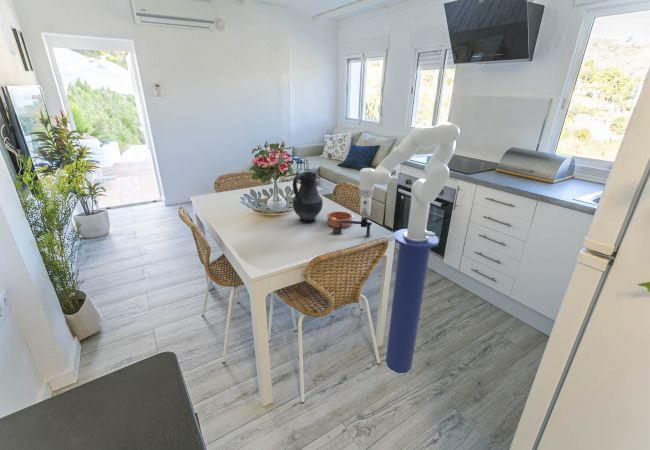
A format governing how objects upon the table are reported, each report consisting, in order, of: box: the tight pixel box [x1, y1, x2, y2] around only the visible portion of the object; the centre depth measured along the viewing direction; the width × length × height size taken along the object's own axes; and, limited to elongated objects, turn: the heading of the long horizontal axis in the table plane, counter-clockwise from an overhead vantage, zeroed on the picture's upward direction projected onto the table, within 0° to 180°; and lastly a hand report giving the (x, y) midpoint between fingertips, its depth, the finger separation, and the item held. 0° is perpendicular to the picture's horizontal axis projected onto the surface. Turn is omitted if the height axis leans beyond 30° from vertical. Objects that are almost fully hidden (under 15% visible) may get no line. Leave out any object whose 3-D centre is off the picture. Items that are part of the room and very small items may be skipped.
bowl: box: [326, 211, 353, 229], centre depth 184 cm, size 15×15×5 cm
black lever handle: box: [332, 220, 373, 237], centre depth 170 cm, size 21×5×8 cm, turn 80°
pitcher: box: [292, 171, 324, 224], centre depth 182 cm, size 17×21×30 cm
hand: (363, 225), depth 168 cm, fingers closed
